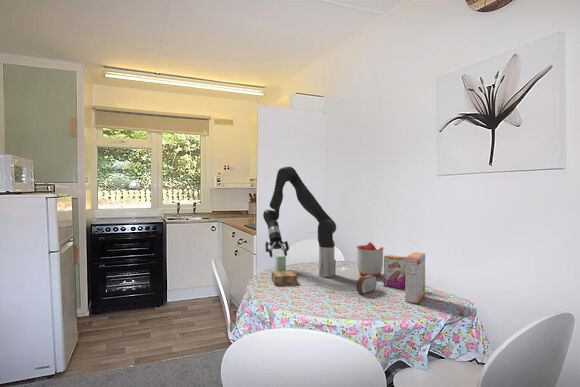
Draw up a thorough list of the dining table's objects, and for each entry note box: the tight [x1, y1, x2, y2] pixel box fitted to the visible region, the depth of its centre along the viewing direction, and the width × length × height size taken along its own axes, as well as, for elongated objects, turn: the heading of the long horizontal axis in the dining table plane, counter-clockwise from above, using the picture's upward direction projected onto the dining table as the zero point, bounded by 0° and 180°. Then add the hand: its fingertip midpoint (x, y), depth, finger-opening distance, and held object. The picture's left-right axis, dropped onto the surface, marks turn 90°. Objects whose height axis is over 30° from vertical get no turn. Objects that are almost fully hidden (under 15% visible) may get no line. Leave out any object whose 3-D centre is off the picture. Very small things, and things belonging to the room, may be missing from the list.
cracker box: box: [404, 252, 426, 304], centre depth 158 cm, size 14×6×21 cm, turn 144°
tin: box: [356, 274, 378, 295], centre depth 168 cm, size 15×3×8 cm, turn 134°
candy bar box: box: [383, 254, 408, 289], centre depth 178 cm, size 11×5×16 cm, turn 65°
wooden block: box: [271, 269, 298, 286], centre depth 185 cm, size 12×12×5 cm
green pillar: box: [274, 254, 287, 271], centre depth 197 cm, size 5×5×12 cm
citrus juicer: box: [356, 241, 384, 278], centre depth 200 cm, size 16×17×20 cm
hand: (278, 256), depth 202 cm, fingers open, 8 cm apart
